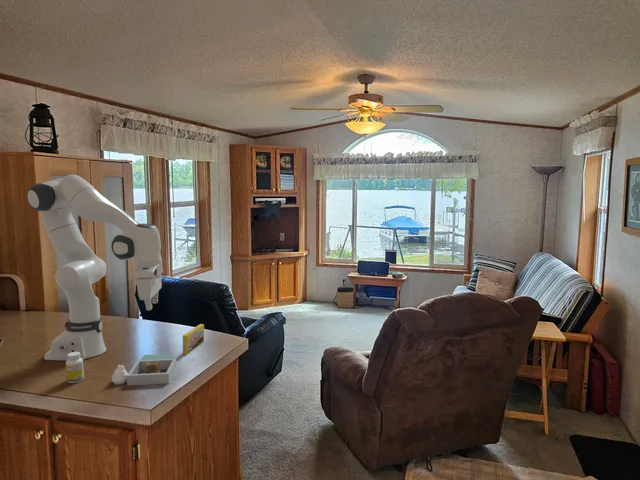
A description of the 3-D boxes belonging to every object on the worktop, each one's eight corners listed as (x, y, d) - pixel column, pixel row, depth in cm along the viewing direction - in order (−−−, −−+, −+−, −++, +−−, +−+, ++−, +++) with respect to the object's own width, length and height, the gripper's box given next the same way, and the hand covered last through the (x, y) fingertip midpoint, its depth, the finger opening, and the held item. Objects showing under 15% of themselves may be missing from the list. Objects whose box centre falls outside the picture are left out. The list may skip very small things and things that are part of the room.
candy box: (187, 355, 186) (186, 335, 185) (182, 354, 187) (181, 335, 186) (204, 342, 202) (204, 323, 201) (200, 341, 202) (199, 323, 201)
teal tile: (136, 367, 173) (136, 365, 173) (144, 356, 184) (144, 354, 184) (166, 366, 175) (166, 364, 175) (172, 355, 185) (172, 353, 185)
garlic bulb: (130, 362, 163) (124, 368, 158) (131, 378, 164) (125, 385, 158) (115, 362, 163) (108, 368, 158) (116, 378, 164) (109, 385, 158)
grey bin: (127, 385, 158) (126, 375, 157) (138, 369, 171) (137, 360, 171) (169, 383, 159) (168, 373, 159) (176, 367, 173) (176, 358, 173)
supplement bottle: (71, 377, 165) (69, 351, 163) (86, 376, 165) (85, 350, 164) (64, 383, 159) (62, 356, 158) (80, 383, 160) (78, 356, 158)
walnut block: (145, 378, 163) (145, 365, 163) (148, 374, 167) (148, 361, 166) (157, 378, 164) (156, 364, 163) (159, 373, 168) (159, 360, 167)
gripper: (147, 264, 174) (150, 300, 175) (132, 274, 154) (136, 314, 155) (164, 263, 175) (167, 299, 176) (152, 273, 154) (155, 313, 156)
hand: (152, 306), depth 165 cm, fingers open, 8 cm apart
